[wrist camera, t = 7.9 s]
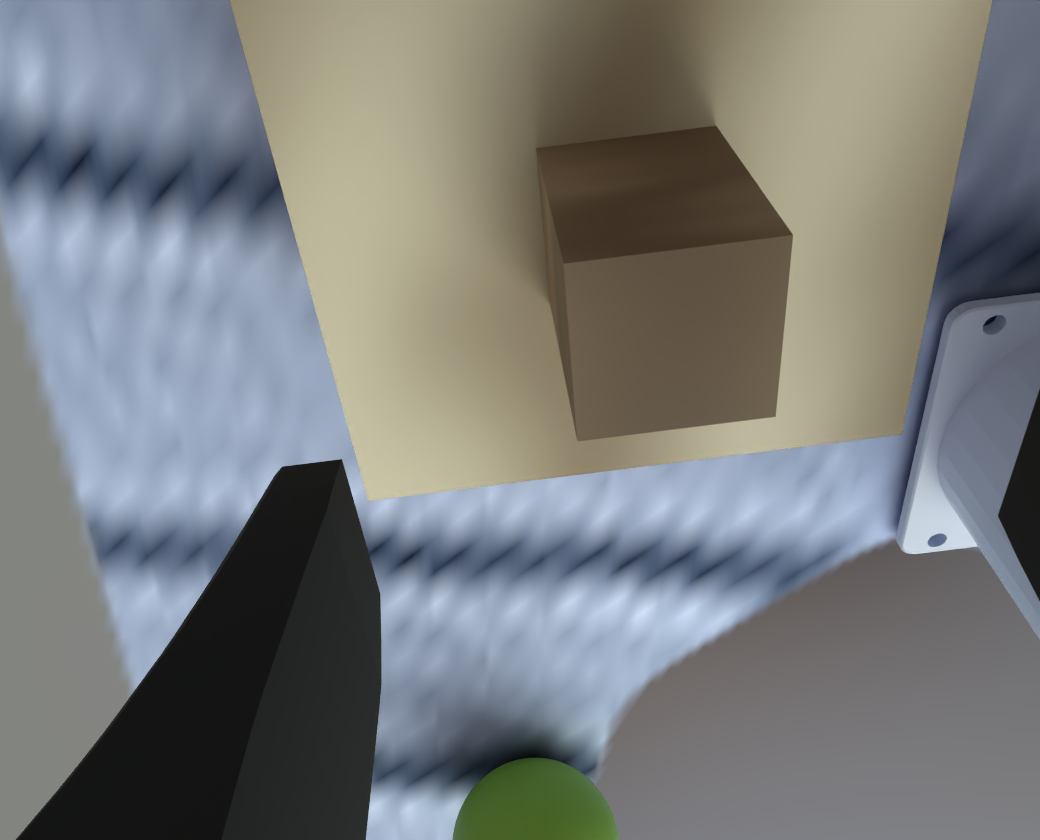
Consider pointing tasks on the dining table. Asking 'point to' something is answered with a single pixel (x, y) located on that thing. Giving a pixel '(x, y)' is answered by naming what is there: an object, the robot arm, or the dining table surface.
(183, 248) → the dining table surface
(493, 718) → the dining table surface
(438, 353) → the lid
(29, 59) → the dining table surface
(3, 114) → the dining table surface
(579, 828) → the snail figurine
